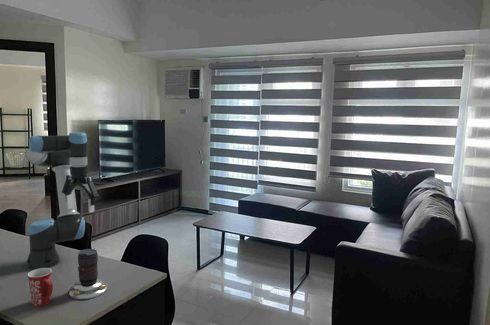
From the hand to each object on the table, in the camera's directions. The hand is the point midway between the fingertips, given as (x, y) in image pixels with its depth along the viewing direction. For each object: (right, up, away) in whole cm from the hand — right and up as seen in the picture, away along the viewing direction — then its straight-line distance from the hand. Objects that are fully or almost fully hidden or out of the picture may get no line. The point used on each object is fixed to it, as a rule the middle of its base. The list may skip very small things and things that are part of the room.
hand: (80, 210), depth 169 cm
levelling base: (+6, -36, -6) cm, 37 cm away
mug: (-8, -38, -18) cm, 42 cm away
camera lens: (+7, -33, -6) cm, 34 cm away
